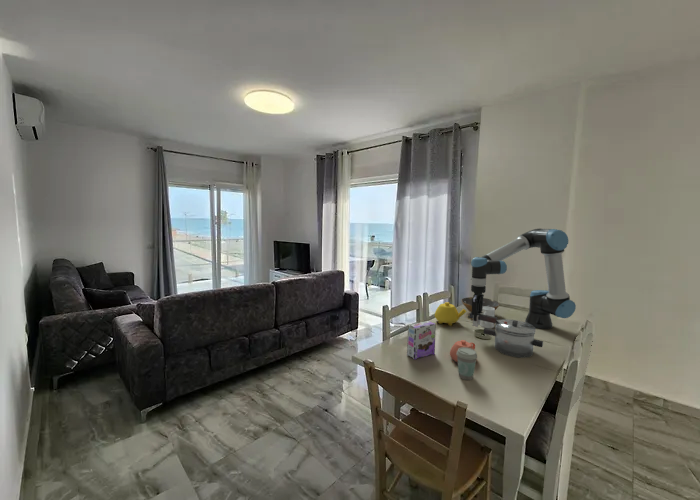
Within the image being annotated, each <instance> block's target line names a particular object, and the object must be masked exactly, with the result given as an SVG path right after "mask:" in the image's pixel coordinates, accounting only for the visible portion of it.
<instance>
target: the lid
mask: <svg viewBox="0 0 700 500" xmlns="http://www.w3.org/2000/svg"><path fill="white" fill-rule="evenodd" d="M471 314H472V312H471V313H470V312H469V319H473V315H471ZM478 320H482V321H487V322H491V323H494V327H495V326H496V327H497V328H499V329H500V330H503V331H506V332H509V333H514V334H533V333H535V334H536V329H537V328H535V327H534V326H533V325H531V324H528V323H526V322H525V321H522V320H518V319H508V318H507V319H498V317H497V316H494V317H493V316H488V315H484V314H479V313H478Z"/></svg>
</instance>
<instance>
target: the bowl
mask: <svg viewBox="0 0 700 500" xmlns="http://www.w3.org/2000/svg"><path fill="white" fill-rule="evenodd" d="M472 298H473V296H472V297H471V296H470V297H463V298H461V300H460V301H461V303H462V304H463V306H464V307H465V308H466V310H468V312H469V314H470V313H471V312H472ZM483 306H488V307H493V308H495V311H496V310H497V309H498V308H499V306H500V302H498V301H496V300H492V299H490V298H485V297H483Z"/></svg>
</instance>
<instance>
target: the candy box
mask: <svg viewBox="0 0 700 500" xmlns="http://www.w3.org/2000/svg"><path fill="white" fill-rule="evenodd" d="M436 328H437V325H436V323H435V322H432V321H430V320H426V321H421V322H416V323H411V324H408V325H407V342H406V343H407V345H406V347H407V348H406V351H407V352H406V355H407V357H409V356H410V357H409V358H411V359H412V358H413V359H412V360H418V359H421V357H422V358H424V356H426V357H429V356H432V354H433V355H435V353H436V350H435V349H436ZM417 358H418V359H417Z"/></svg>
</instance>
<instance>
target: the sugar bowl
mask: <svg viewBox="0 0 700 500" xmlns="http://www.w3.org/2000/svg"><path fill="white" fill-rule="evenodd" d="M462 347H466V348H471V349H473V350H475V351H476V344H475V342H468V341H467V340H465V339H461V340H457V341H456V342H454V344H453V345H452V346H451V348H450V351H449V356H450V358H451V359H452V360H453V361H454V362H456V363H458V359H457V354H456V353H457V351H458V349H459V348H462Z"/></svg>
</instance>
